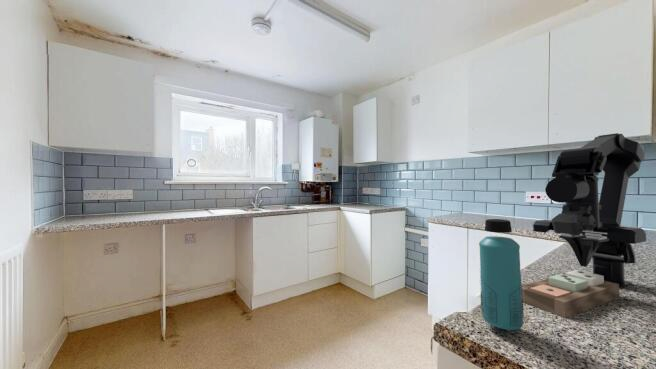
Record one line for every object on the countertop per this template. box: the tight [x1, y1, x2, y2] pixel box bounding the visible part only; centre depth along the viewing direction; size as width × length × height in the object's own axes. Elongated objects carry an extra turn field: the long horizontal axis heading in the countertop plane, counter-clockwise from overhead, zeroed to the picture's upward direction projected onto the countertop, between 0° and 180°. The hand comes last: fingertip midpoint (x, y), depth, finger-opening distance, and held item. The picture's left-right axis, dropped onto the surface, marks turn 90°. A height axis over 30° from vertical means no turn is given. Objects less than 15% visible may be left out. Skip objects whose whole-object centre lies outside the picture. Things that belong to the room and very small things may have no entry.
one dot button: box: [530, 284, 570, 298], centre depth 57 cm, size 5×5×3 cm
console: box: [521, 274, 620, 319], centre depth 60 cm, size 22×9×3 cm, turn 113°
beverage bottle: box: [478, 218, 525, 331], centre depth 48 cm, size 6×7×20 cm
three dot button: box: [547, 273, 588, 292], centre depth 60 cm, size 5×5×3 cm
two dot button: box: [565, 269, 604, 287], centre depth 63 cm, size 5×5×3 cm
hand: (583, 266), depth 63 cm, fingers closed
